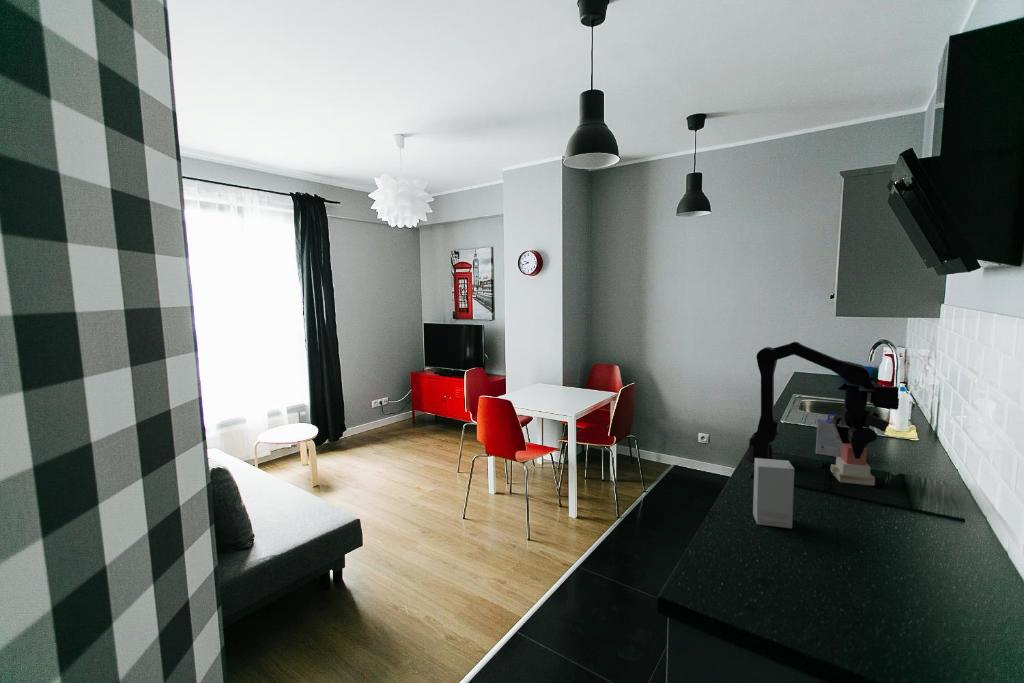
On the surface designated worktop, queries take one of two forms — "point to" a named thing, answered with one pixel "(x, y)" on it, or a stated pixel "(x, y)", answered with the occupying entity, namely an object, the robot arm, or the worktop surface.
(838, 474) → the tower base
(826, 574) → the worktop surface
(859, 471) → the tower top
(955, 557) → the worktop surface
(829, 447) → the ink cartridge box
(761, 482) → the skincare box
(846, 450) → the red cube
